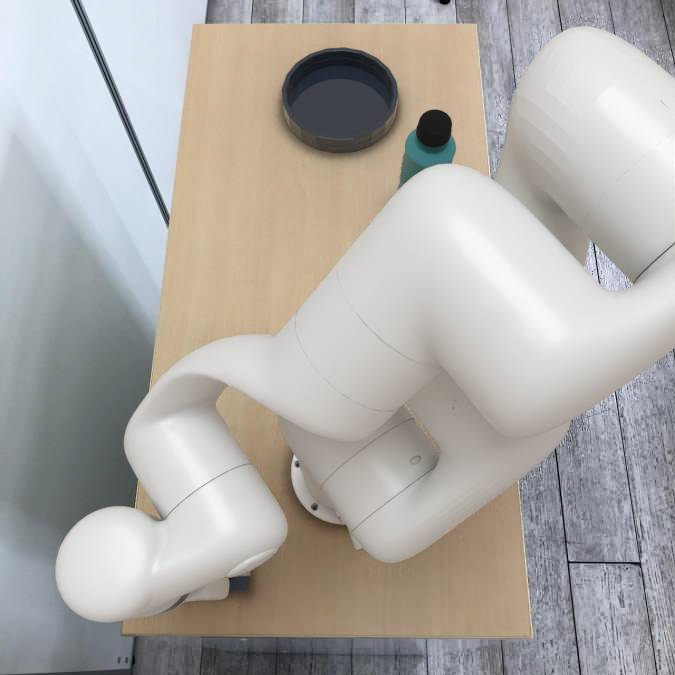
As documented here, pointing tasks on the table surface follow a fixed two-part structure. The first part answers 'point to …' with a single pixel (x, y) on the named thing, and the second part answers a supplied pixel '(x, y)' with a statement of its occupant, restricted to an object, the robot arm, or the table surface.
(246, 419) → the table surface
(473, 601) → the table surface
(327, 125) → the pan
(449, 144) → the beverage bottle
